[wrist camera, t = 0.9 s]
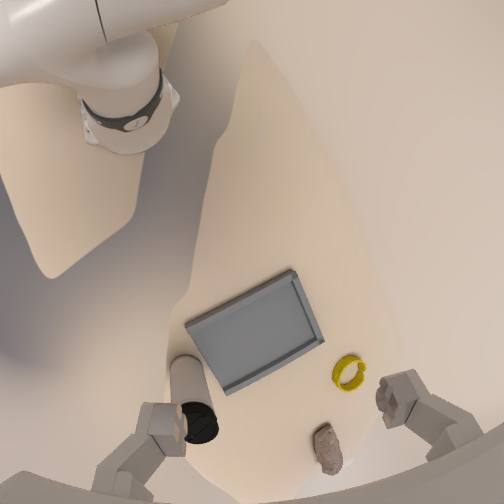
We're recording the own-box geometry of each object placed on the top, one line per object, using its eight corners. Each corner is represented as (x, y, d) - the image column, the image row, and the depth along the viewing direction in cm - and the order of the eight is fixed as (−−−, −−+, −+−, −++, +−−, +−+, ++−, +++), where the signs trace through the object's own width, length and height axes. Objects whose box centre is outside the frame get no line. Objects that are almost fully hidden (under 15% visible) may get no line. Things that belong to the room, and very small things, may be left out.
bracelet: (329, 388, 62) (336, 395, 59) (333, 357, 61) (340, 363, 58) (356, 382, 64) (363, 388, 60) (360, 352, 63) (368, 357, 60)
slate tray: (185, 324, 52) (185, 328, 50) (290, 269, 57) (295, 271, 54) (224, 390, 55) (226, 396, 53) (319, 337, 60) (324, 341, 57)
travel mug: (210, 365, 54) (231, 426, 35) (188, 388, 53) (200, 454, 34) (185, 346, 53) (194, 404, 33) (163, 370, 52) (163, 434, 33)
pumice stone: (339, 454, 65) (357, 475, 55) (314, 465, 63) (330, 488, 54) (335, 417, 63) (356, 438, 53) (307, 429, 61) (326, 453, 52)
